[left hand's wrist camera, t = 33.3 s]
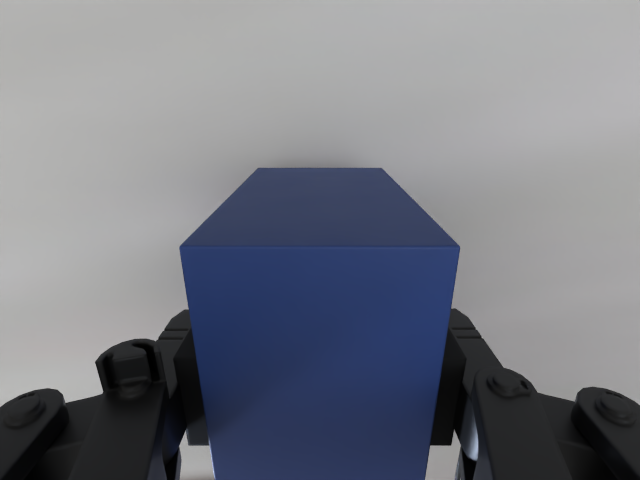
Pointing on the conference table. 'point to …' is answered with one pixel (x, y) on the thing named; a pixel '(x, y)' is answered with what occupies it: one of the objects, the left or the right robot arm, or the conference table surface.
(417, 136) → the conference table surface
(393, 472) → the block
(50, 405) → the left robot arm
